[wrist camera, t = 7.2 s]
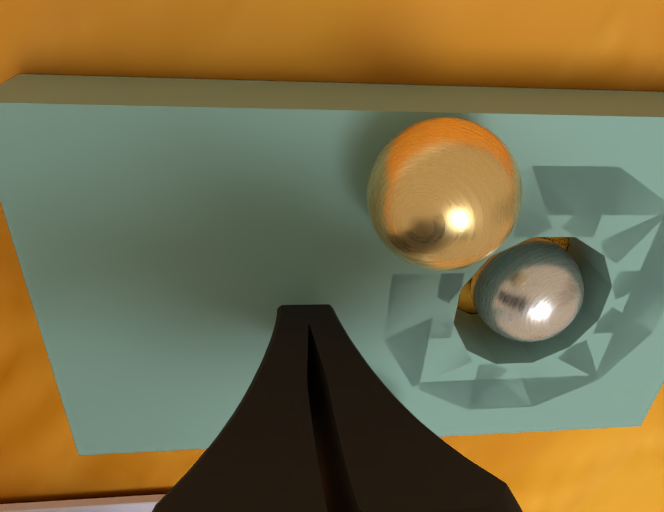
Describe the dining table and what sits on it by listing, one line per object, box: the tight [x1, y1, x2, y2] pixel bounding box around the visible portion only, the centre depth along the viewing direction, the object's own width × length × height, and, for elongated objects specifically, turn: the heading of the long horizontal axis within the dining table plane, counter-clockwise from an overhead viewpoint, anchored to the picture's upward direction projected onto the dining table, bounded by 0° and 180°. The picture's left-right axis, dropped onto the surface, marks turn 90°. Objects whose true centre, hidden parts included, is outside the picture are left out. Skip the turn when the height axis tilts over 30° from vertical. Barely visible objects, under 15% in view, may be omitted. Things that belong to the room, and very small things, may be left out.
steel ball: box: [471, 237, 584, 342], centre depth 16 cm, size 3×3×3 cm
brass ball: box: [367, 117, 523, 271], centre depth 11 cm, size 3×3×3 cm
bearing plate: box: [0, 74, 664, 455], centre depth 16 cm, size 19×11×2 cm, turn 87°
